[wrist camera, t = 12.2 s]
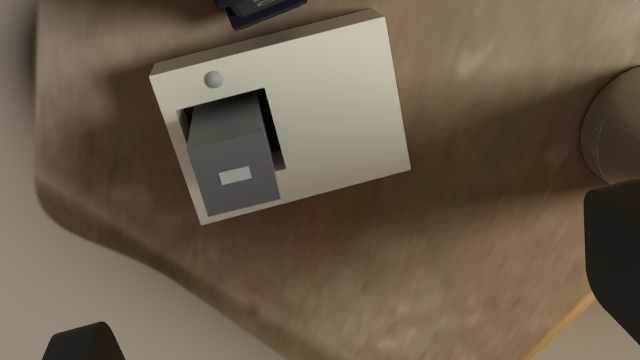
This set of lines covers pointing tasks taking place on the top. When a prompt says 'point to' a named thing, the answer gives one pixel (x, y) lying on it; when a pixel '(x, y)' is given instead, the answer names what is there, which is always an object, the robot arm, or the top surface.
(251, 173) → the grey rectangular block
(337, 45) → the switch board
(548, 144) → the top surface
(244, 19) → the magazine
